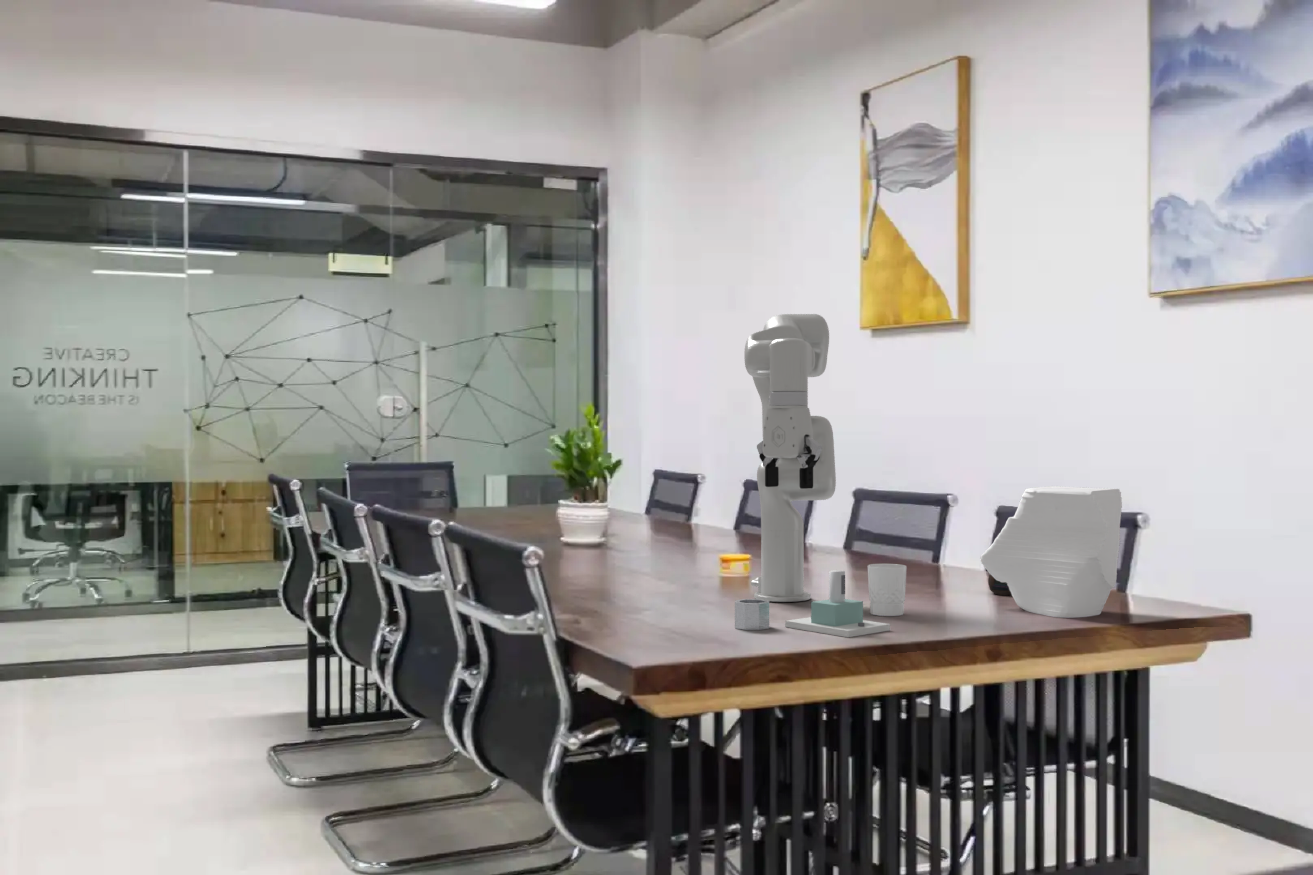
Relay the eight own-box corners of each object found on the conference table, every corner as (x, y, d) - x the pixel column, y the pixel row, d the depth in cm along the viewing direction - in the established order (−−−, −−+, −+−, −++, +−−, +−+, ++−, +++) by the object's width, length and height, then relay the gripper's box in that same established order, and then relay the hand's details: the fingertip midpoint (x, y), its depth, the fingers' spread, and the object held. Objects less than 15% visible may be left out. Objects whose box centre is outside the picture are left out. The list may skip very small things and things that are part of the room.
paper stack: (1079, 622, 252) (1079, 492, 252) (976, 605, 274) (976, 486, 274) (1147, 613, 263) (1147, 488, 263) (1042, 598, 286) (1042, 483, 286)
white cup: (880, 617, 258) (880, 568, 258) (860, 612, 266) (860, 564, 266) (914, 615, 261) (913, 566, 261) (893, 610, 269) (892, 562, 269)
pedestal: (785, 626, 247) (785, 570, 247) (827, 620, 255) (827, 565, 255) (847, 637, 235) (847, 577, 235) (890, 630, 242) (890, 572, 242)
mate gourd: (1020, 592, 296) (1020, 549, 296) (1021, 596, 289) (1021, 552, 289) (988, 591, 298) (988, 548, 298) (988, 595, 291) (988, 552, 290)
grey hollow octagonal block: (727, 626, 247) (727, 601, 247) (752, 623, 252) (752, 598, 251) (751, 631, 242) (751, 604, 242) (776, 627, 246) (776, 601, 246)
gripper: (745, 401, 257) (745, 486, 257) (806, 400, 244) (806, 489, 244) (772, 402, 262) (772, 485, 262) (833, 400, 248) (834, 488, 249)
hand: (788, 487), depth 253 cm, fingers open, 9 cm apart
